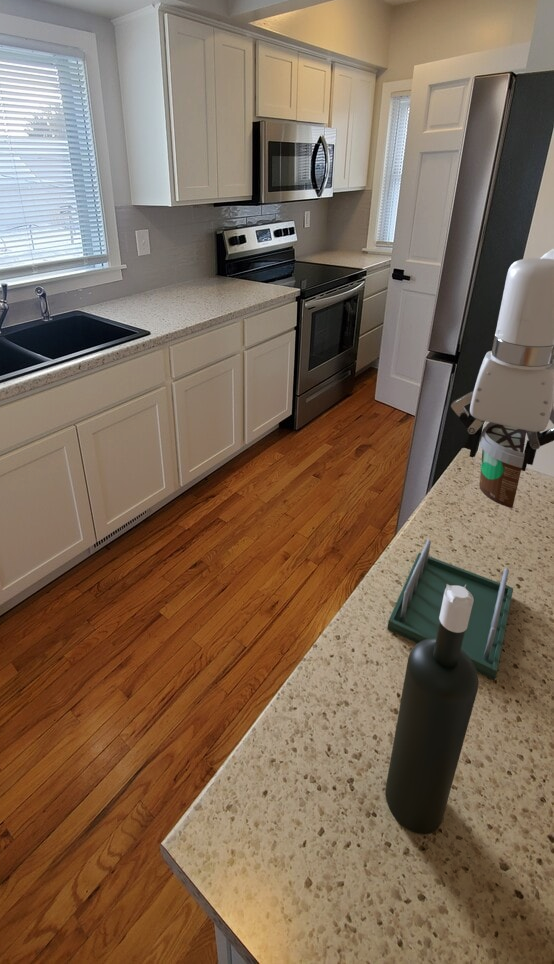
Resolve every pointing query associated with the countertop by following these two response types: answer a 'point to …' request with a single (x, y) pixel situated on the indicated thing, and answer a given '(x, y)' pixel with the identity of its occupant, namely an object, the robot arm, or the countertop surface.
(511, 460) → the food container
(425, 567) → the drying rack
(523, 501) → the countertop surface
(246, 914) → the countertop surface
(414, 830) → the wine bottle
